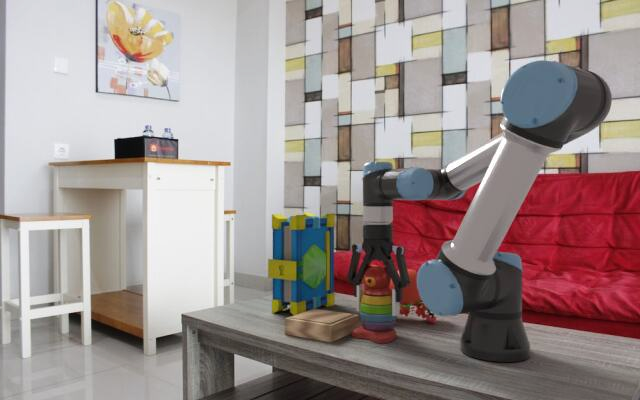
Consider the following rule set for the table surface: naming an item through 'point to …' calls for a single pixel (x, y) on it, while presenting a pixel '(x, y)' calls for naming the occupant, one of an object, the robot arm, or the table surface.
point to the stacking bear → (376, 307)
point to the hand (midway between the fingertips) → (377, 312)
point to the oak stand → (321, 324)
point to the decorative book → (302, 262)
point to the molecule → (411, 298)
